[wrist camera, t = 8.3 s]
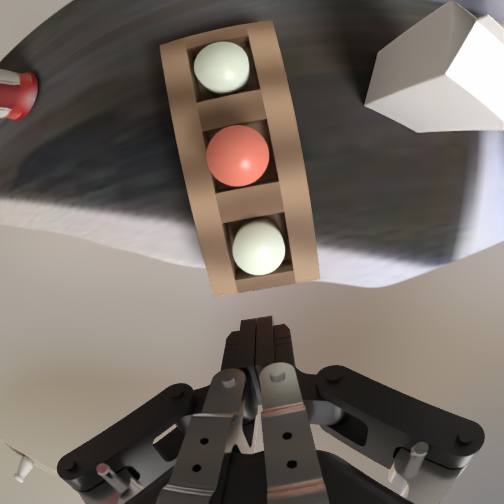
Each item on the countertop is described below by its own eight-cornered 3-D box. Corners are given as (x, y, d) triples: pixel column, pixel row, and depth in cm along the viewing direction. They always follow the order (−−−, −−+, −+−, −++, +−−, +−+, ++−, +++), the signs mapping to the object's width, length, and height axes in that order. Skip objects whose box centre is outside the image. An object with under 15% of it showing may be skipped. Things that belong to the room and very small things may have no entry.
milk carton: (417, 133, 26) (554, 134, 8) (362, 105, 25) (487, 61, 7) (429, 81, 23) (552, 50, 6) (376, 52, 23) (483, -21, 5)
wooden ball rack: (174, 60, 24) (159, 45, 19) (269, 40, 23) (271, 20, 18) (220, 275, 32) (213, 296, 27) (311, 259, 31) (320, 278, 26)
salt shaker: (34, 460, 60) (22, 482, 48) (36, 465, 62) (25, 486, 49) (22, 452, 59) (10, 474, 47) (24, 457, 61) (13, 477, 49)
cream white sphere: (231, 221, 27) (227, 230, 24) (277, 212, 27) (280, 221, 23) (240, 264, 28) (238, 279, 25) (285, 256, 28) (288, 270, 25)
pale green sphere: (198, 60, 22) (190, 48, 19) (244, 50, 22) (242, 36, 18) (206, 101, 23) (198, 93, 20) (254, 91, 23) (253, 82, 20)
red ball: (209, 135, 22) (200, 132, 19) (262, 125, 22) (262, 119, 18) (219, 186, 24) (213, 192, 20) (272, 176, 23) (274, 180, 20)
